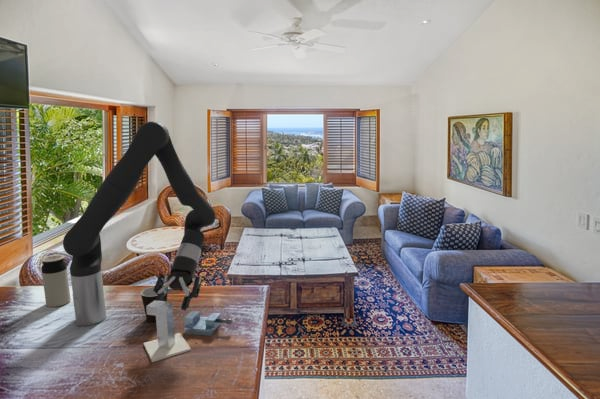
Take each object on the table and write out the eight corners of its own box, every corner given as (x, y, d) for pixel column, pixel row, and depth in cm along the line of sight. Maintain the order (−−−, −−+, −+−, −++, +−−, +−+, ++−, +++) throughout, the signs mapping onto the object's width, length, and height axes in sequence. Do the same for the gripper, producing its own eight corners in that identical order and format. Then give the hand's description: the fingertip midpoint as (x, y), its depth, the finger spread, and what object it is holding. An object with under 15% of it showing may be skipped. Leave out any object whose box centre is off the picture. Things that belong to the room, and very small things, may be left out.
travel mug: (74, 301, 151) (69, 256, 148) (52, 309, 145) (46, 262, 141) (64, 296, 155) (58, 253, 152) (42, 304, 149) (35, 258, 146)
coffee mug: (161, 325, 132) (158, 297, 130) (138, 323, 133) (135, 295, 132) (178, 310, 143) (176, 283, 141) (156, 308, 145) (154, 282, 143)
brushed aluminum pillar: (165, 341, 121) (161, 295, 118) (175, 342, 120) (171, 296, 117) (150, 355, 113) (146, 306, 111) (161, 356, 113) (157, 307, 110)
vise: (194, 321, 134) (193, 308, 134) (237, 325, 131) (236, 312, 130) (182, 333, 127) (181, 319, 126) (227, 337, 124) (227, 324, 123)
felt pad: (152, 362, 111) (151, 360, 111) (143, 344, 120) (143, 343, 120) (190, 350, 117) (190, 348, 117) (179, 334, 126) (179, 332, 126)
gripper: (161, 253, 127) (143, 302, 118) (202, 256, 124) (186, 306, 115) (171, 263, 133) (154, 310, 124) (210, 266, 130) (196, 314, 121)
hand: (170, 308), depth 120 cm, fingers open, 8 cm apart
